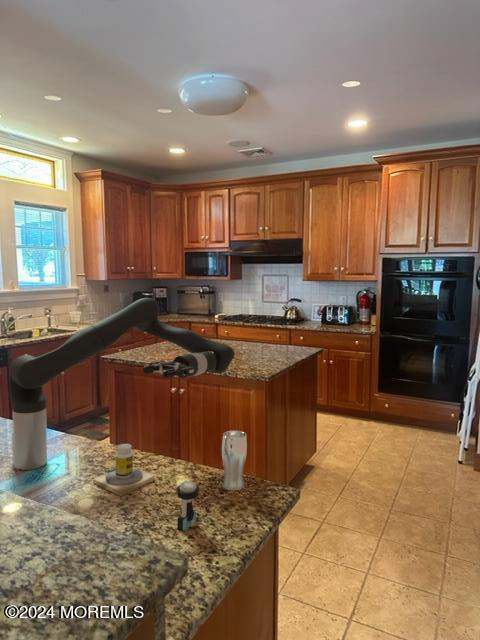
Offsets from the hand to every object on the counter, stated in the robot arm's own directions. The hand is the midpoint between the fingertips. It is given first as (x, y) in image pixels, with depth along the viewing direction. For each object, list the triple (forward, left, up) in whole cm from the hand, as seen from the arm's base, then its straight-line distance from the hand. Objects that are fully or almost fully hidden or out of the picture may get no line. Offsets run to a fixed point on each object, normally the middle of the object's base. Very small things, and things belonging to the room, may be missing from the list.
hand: (153, 372), depth 131 cm
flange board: (0, -11, -30) cm, 32 cm away
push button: (+29, -16, -30) cm, 44 cm away
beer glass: (+26, +6, -30) cm, 40 cm away
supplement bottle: (0, -11, -28) cm, 30 cm away
